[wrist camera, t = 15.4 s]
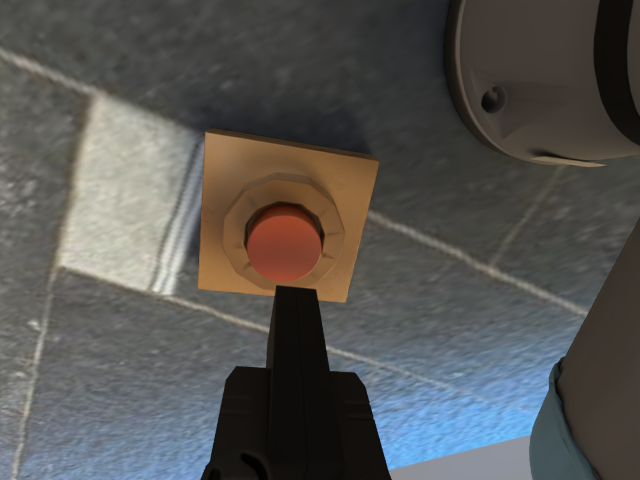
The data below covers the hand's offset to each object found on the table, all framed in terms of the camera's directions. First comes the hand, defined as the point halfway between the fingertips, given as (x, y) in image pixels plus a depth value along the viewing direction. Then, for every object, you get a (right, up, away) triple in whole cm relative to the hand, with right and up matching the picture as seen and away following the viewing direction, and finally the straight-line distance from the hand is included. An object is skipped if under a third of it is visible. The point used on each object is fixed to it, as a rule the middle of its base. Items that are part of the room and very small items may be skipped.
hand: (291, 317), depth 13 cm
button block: (-1, +5, +10) cm, 11 cm away
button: (-1, +3, +7) cm, 8 cm away
